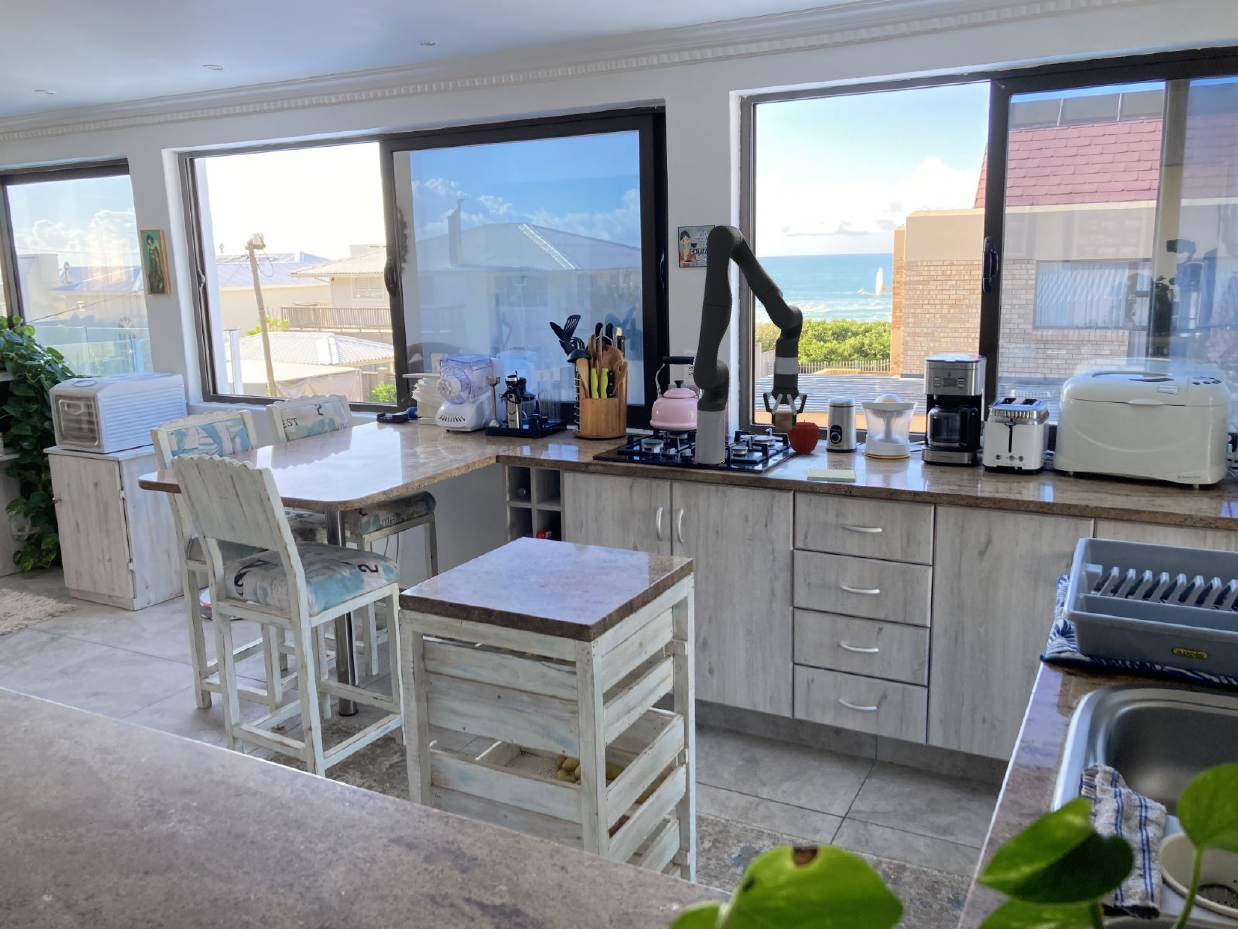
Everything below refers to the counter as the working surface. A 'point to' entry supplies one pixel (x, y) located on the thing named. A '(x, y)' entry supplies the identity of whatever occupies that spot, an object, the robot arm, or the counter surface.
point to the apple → (804, 437)
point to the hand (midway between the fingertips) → (783, 426)
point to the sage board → (831, 475)
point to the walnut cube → (783, 420)
